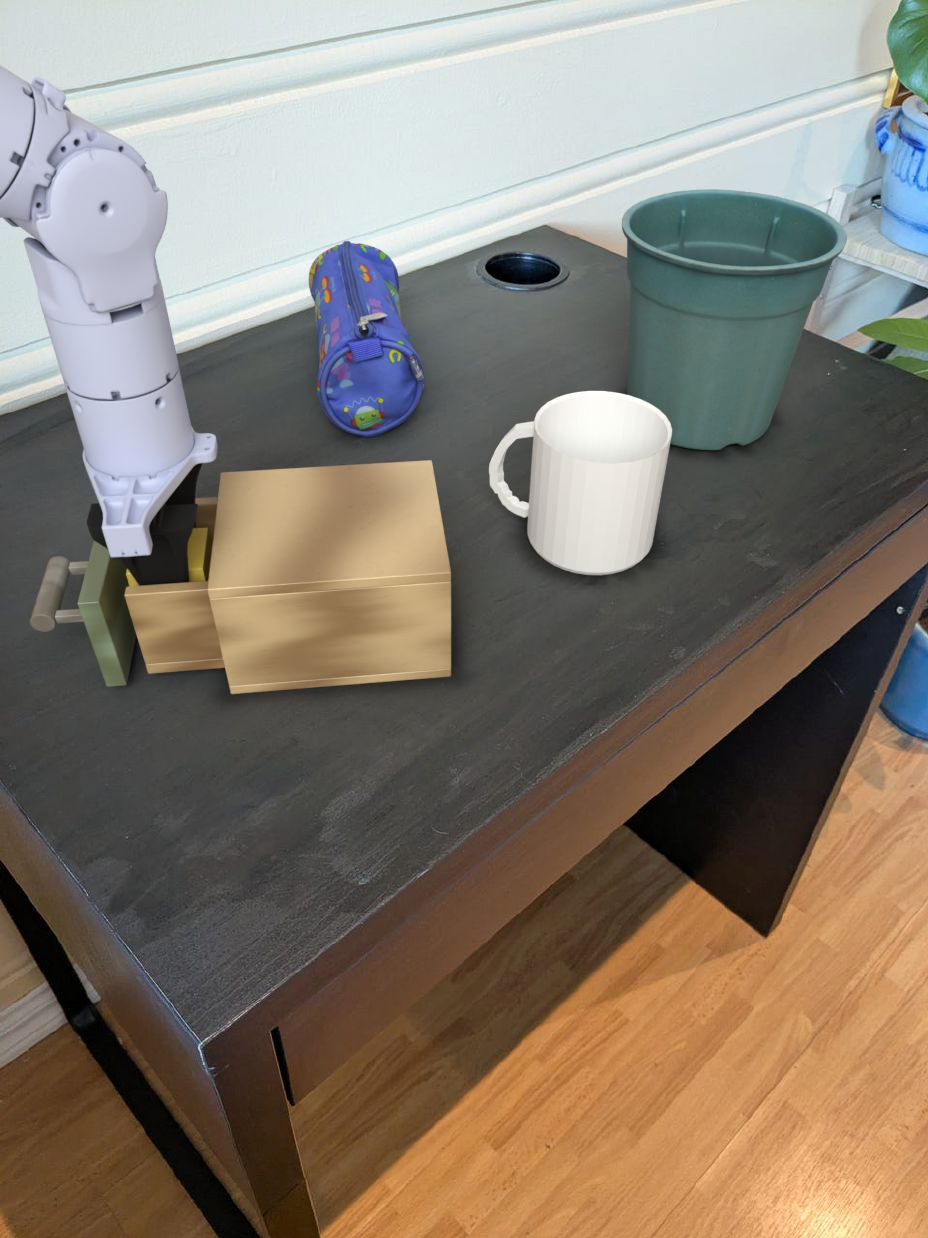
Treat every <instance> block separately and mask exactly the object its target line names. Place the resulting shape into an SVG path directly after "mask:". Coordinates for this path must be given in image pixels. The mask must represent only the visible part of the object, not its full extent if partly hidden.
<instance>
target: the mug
mask: <svg viewBox="0 0 928 1238" xmlns="http://www.w3.org/2000/svg"><path fill="white" fill-rule="evenodd" d="M671 435H672V428H671V424H670V422H669V420H668V419H667V417H666V416H665V415H664V414H663V413H662V412H661V411H660V410H659V409H657V408H656V407H654V406H653V405H651V404H650V403H648V402H645V401H643V400H641V399H638V398H635V397H632V396H629V395H627V394H625V393H620V392H616V391H615V392H614V391H606V390H585V391H576V392H572V393H566V394H563V395H560V396H557V397H555V398H553V399H551V400H549V401H547V402H546V403H545V404H544V405H542V406H541V407H540V408H539V409H538V411H537V412H536V414H535V417H534V420H533V421H526V422H520V423H516V424H515V425H514V426H513V427H512V428H511V429H510V430H509V431H508V432H507V433H506V434H505V435H503V438H502V439H501V441H500V442H499V444H498V445H497V447H496V448H495V450H494V453H493V454H492V457H491V459H490V462H489V465H488V474H489V487H490V488H491V489H492V491H493V492H494V494H497V497H498V499H499V501H500V503H501V505H502V506H504V507H505V508H506V509H507V510H508V511H510V512H511V513H513V514H515V515H516V516H518V517H521V518H524V519H525V518H527V524H526V525H527V526H526V527H527V528H526V530H527V531H526V532H527V537H528V540H529V544H530V545H531V546H532V548H533V549H534V551H535V552H536V553H537V555H539V556H540V558H542V559H543V560H544V561H546V562H547V563H549V564H551V565H552V566H554V567H556V568H559V569H560V570H563V571H566V572H570V573H574V574H579V575H586V576H604V575H613V574H617V573H621V572H624V571H626V570H628V569H632V568H633V567H634V566H635V565H637V564H639V563H640V562H641V561H642V560H643V559H644V558H645V557H646V556H647V555H648V554H649V552H650V550H651V549H652V546H653V543H654V537H655V530H656V525H657V520H658V514H659V508H660V502H661V499H662V498H661V497H662V491H663V485H664V480H665V474H666V469H667V464H668V458H669V452H670V446H671V444H670V442H671ZM532 437H533V438H532ZM525 438H532V448H531V449H532V450H531V451H532V452H531V464H530V465H531V467H530V480H529V495H528V502H526V501H523V500H521V501H520V499H519V498H518V497H517V496H516V495H513V491H512V490H510V488H509V485H508V483H507V482H506V481H505V472H504V462H505V458H506V454H507V451H508V449H509V447H510V446H511V445H512V444H513V443H514V442H515V441H516V440H518V439H525Z"/></svg>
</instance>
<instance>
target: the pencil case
mask: <svg viewBox="0 0 928 1238" xmlns="http://www.w3.org/2000/svg"><path fill="white" fill-rule="evenodd" d="M308 288H309V293H310V295H311V297H312V300H313V302H314V317H315V326H316V327H315V328H316V332H317V339H318V364H319V365H318V366H319V367H318V368H319V369H318V373H317V377H316V378H317V379H316V380H317V381H316V393H317V394H316V395H317V397H318V401H319V404H320V406H321V408H322V410H323V412H324V414H325V416H326V417H327V418H328V420H330V422H331V423H332V424H333V425H335V426H336V427H338V428H339V429H341V430H342V431H343V432H346V433H349V434H352V435H356V436H360V437H363V438H372V437H376V436H380V435H382V434H384V433H386V432H388V431H390V430H392V429H395V428H396V427H397V426H399V425H401V424H403V423H404V422H405V421H406V420H407V419H408V418H409V417H410V416H412V414H413V413H414V412H415V410H417V408H418V406H419V404H420V402H421V400H422V397H423V395H424V391H425V371H424V365H423V363H422V360H421V358H420V355H419V354H418V353H417V352H416V350H415V349H414V347H413V346H412V341H411V338H410V337H411V336H410V335H409V332H407V330H406V328H405V326H404V324H403V321H402V320H401V319H402V311H401V303H400V298H399V295H400V294H399V292H400V276H399V272H398V269H397V267H396V264H395V262H394V261H393V259H392V258H391V257H390V255H388V254H387V253H386V252H384V251H383V250H381V249H380V248H377V247H375V246H371V245H368V244H364V243H360V242H359V243H358V242H357V243H354V242H351V241H350V240H344V241H343V242H342V243H341V244H336V245H334V246H332V247H330V248H328V249H327V250H324V251H323V252H321V253H320V254H319V255H317V256H316V258H315V259H314V260H313V262H312V263H311V265H310V268H309V272H308Z"/></svg>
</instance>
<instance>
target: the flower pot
mask: <svg viewBox="0 0 928 1238" xmlns="http://www.w3.org/2000/svg"><path fill="white" fill-rule="evenodd" d="M621 230H622V233H623V235H624V237H625V239H626V274H627V278H628V280H629V283H630V285H629V287H630V288H629V319H628V320H629V321H628V349H627V350H628V353H627V382H626V383H627V385H626V395H629V396H632V397H635V398H638V399H641V400H643V401H645V402H648V403H650V404H651V405H653V406H654V407H656V408H657V409H659V410H660V411H661V412H662V413H663V414H664V415H665V416H666V417H667V419H668V420H669V422H670V424H671V428H672V435H671V442H670V445H672V446H675V447H678V448H679V447H680V448H683V449H689V450H700V451H721V450H722V449H723V448H725V447H727V446H729V445H734V444H737V445H739V446H741V447H742V446H746V445H749V444H752V443H754V442H755V441H757V440H758V439H760V438H761V437H762V436H763V435H764V434H765V433H766V432H767V430H768V429H769V427H770V425H771V423H772V420H773V417H774V414H775V411H776V409H777V405H778V402H779V399H780V397H781V394H782V391H783V388H784V385H785V383H786V379H787V377H788V374H789V371H790V368H791V366H792V362H793V360H794V357H795V354H796V351H797V348H798V345H799V343H800V339H801V337H802V334H803V332H804V329H805V327H806V324H807V322H808V318H809V315H810V313H811V310H812V307H813V304H814V302H815V301H816V300H817V299H818V297H820V295H821V293H822V290H823V288H824V285H825V282H826V280H827V277H828V275H829V271H830V269H831V267H832V263H833V261H834V260H835V259H836V258H837V257H839V256H840V254H841V253H842V252H843V250H844V249H845V247H846V245H847V243H848V242H847V241H848V234H847V232H846V230H845V228H844V227H843V226H842V224H840V222H839V221H838V220H837V219H836V218H834V217H832V216H831V215H830V214H828V213H826V212H825V211H822V210H820V209H818V208H816V207H813V206H811V205H808V204H805V203H802V202H800V201H796V200H792V199H789V198H785V197H782V196H777V195H776V196H775V195H771V194H766V193H759V192H754V191H744V190H736V189H735V190H734V189H713V188H712V189H709V188H708V189H690V190H689V189H688V190H679V191H671V192H667V193H663V194H659V195H655V196H651V197H648V198H646V199H644V200H640V201H639V202H637V203H635V204H633V205H632V206H630V207H629V208H628V209H627V210H626V211H625V212H624V213H623V216H622V218H621Z"/></svg>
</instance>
